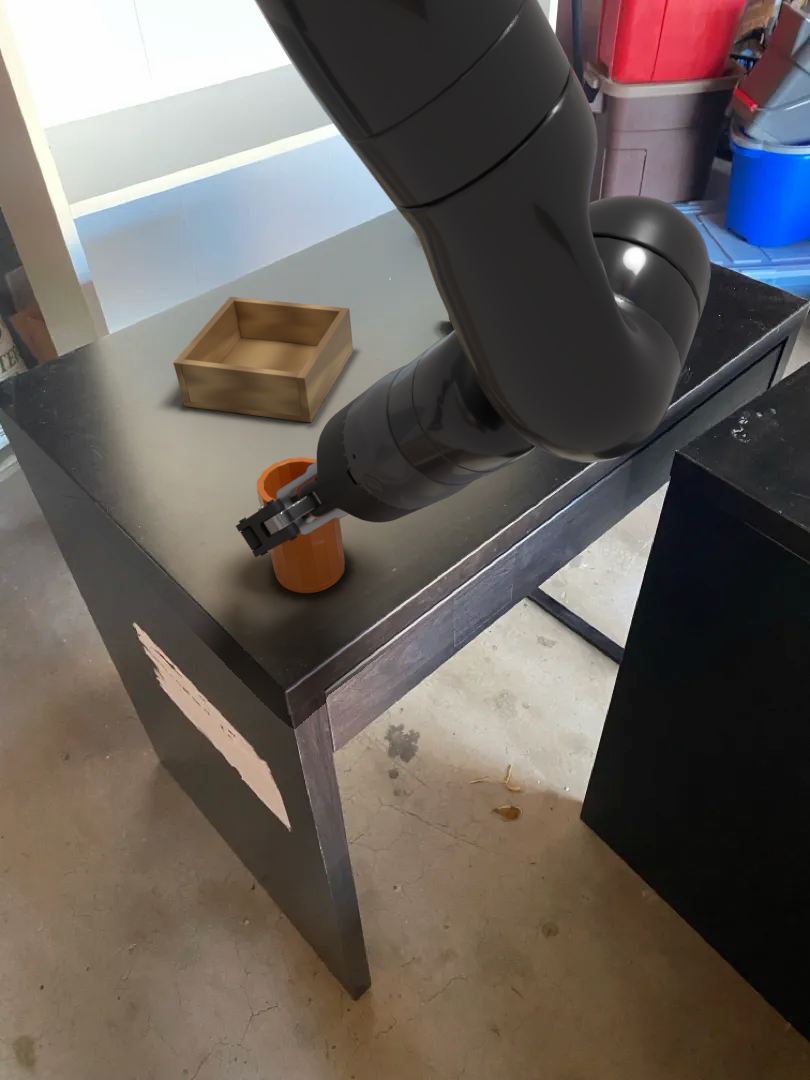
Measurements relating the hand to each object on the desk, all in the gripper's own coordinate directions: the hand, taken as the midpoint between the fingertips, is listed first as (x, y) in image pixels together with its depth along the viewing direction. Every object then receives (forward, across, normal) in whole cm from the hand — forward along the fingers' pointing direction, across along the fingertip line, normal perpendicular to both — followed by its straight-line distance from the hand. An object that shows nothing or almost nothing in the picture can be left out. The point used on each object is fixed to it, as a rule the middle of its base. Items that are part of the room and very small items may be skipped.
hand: (302, 504), depth 61 cm
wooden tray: (+23, -15, -13) cm, 30 cm away
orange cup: (+5, 0, +5) cm, 7 cm away
